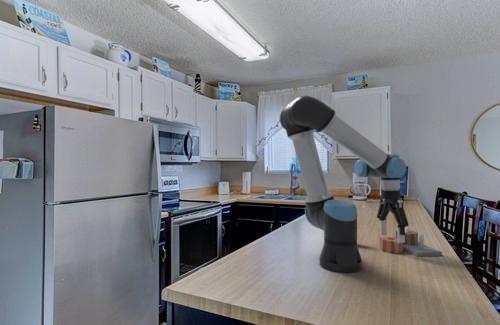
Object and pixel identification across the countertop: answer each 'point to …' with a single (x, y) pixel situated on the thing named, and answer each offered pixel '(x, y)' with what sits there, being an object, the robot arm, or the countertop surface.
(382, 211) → the robot arm
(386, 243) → the gear
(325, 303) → the countertop surface
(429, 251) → the gear board
